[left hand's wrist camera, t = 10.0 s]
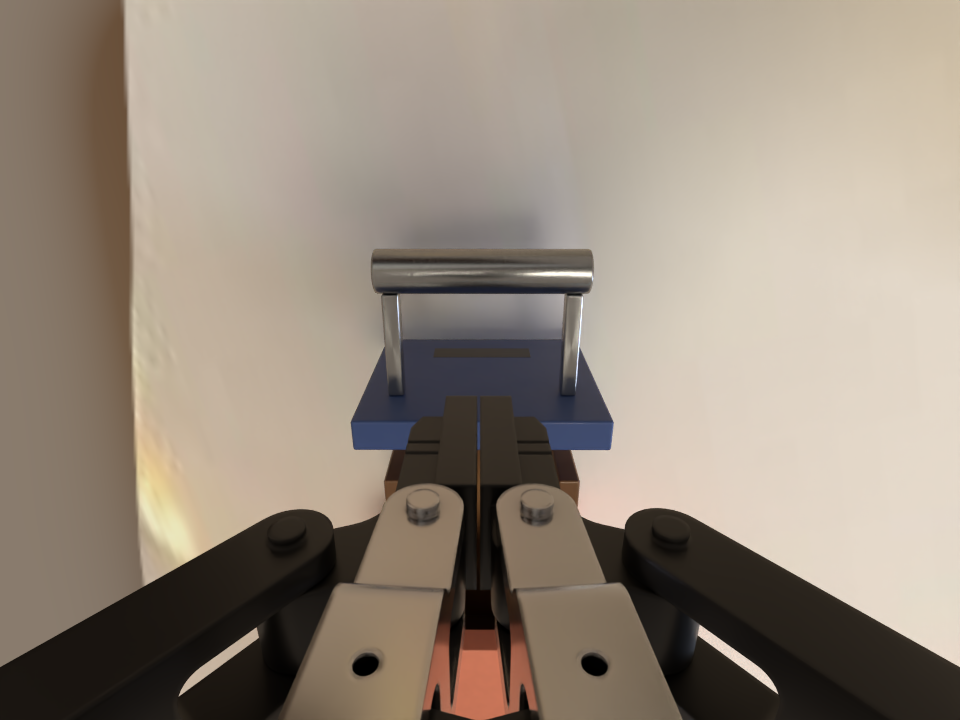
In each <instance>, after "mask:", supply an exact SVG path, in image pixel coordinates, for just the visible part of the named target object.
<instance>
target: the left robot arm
mask: <svg viewBox="0 0 960 720" xmlns="http://www.w3.org/2000/svg"><path fill="white" fill-rule="evenodd" d="M465 590H477V396H446V400H445V407H444V414H443V416H423V417H422V418H421V419H420V420H419V421H418V422H417V423H415V424H414V425H413V426H412V427H411V430H410V434H409V438H408V443H407V446H406V450H405V454H404V459H403V463H402V467H401V471H400V475H399V479H398V483H397V487H396V491H395V493H393V494H392V495H391V496H390V497H389V498H388V499H387V500H386V501H385V503H384V505H383V508H382V510H381V513H380V514H378V515H377V516H375V517H373V518H371V519H369V520H366V521H364V522H361V523H357V524H353V525H349V526H344V527H340V528H335V529H333V525H332V523H331V521H330V520H329V518H328V517H326V516H325V515H324V514H322V513H320V512H317V511H313V510H306V509H297V510H289V511H284V512H280V513H277V514H275V515H272V516H270V517H268V518H266V519H264V520H262V521H260V522H258V523H256V524H255V525H253V526H251V527H249V528H248V529H246V530H244V531H242V532H240V533H239V534H237V535H235V536H233V537H231V538H230V539H228V540H226V541H224V542H223V543H221V544H219V545H217V546H215V547H214V548H212V549H210V550H208V551H207V552H205V553H203V554H201V555H199V556H198V557H196V558H194V559H192V560H190V561H189V562H187V563H185V564H183V565H182V566H180V567H178V568H176V569H174V570H173V571H171V572H169V573H167V574H166V575H164V576H162V577H160V578H158V579H157V580H155V581H153V582H151V583H149V584H148V585H146V586H144V587H142V588H141V589H139V590H137V591H135V592H133V593H132V594H130V595H128V596H126V597H125V598H123V599H121V600H119V601H117V602H116V603H114V604H112V605H110V606H108V607H107V608H105V609H103V610H101V611H100V612H98V613H96V614H94V615H92V616H91V617H89V618H87V619H85V620H84V621H82V622H80V623H78V624H76V625H75V626H73V627H71V628H69V629H67V630H66V631H64V632H62V633H60V634H59V635H57V636H55V637H53V638H52V639H50V640H48V641H46V642H44V643H43V644H41V645H39V646H37V647H35V648H34V649H32V650H30V651H28V652H27V653H25V654H23V655H21V656H19V657H18V658H16V659H14V660H12V661H10V662H9V663H7V664H5V665H3V666H2V667H0V720H474V719H469V718H466V717H462V716H458V715H455V710H456V702H457V693H458V685H459V677H460V668H461V660H462V652H463V643H464V635H465ZM480 590H491V606H492V611H493V614H494V616H495V635H496V643H497V652H498V660H499V668H500V677H501V685H502V693H503V702H504V710H505V715H502V716H498V717H494V718H491V719H486V720H960V667H958V666H957V665H955V664H953V663H951V662H950V661H948V660H946V659H944V658H942V657H941V656H939V655H937V654H935V653H934V652H932V651H930V650H928V649H926V648H925V647H923V646H921V645H919V644H917V643H916V642H914V641H912V640H910V639H909V638H907V637H905V636H903V635H901V634H900V633H898V632H896V631H894V630H893V629H891V628H889V627H887V626H885V625H884V624H882V623H880V622H878V621H876V620H875V619H873V618H871V617H869V616H868V615H866V614H864V613H862V612H860V611H859V610H857V609H855V608H853V607H852V606H850V605H848V604H846V603H844V602H843V601H841V600H839V599H837V598H835V597H834V596H832V595H830V594H828V593H827V592H825V591H823V590H821V589H819V588H818V587H816V586H814V585H812V584H811V583H809V582H807V581H805V580H803V579H802V578H800V577H798V576H796V575H794V574H793V573H791V572H789V571H787V570H786V569H784V568H782V567H780V566H778V565H777V564H775V563H773V562H771V561H770V560H768V559H766V558H764V557H762V556H761V555H759V554H757V553H755V552H753V551H752V550H750V549H748V548H746V547H745V546H743V545H741V544H739V543H737V542H736V541H734V540H732V539H730V538H729V537H727V536H725V535H723V534H721V533H720V532H718V531H716V530H714V529H712V528H711V527H709V526H707V525H705V524H704V523H702V522H700V521H698V520H696V519H695V518H693V517H691V516H689V515H686V514H684V513H681V512H678V511H674V510H670V509H662V508H650V509H644V510H641V511H638V512H636V513H634V514H633V515H631V516H630V517H629V519H628V520H627V522H626V524H625V529H620V528H616V527H611V526H607V525H602V524H599V523H595V522H592V521H590V520H587V519H585V518H583V517H581V515H580V513H579V510H578V508H577V505H576V503H575V501H574V500H573V499H572V498H571V497H570V496H569V495H568V494H567V493H565V492H564V491H562V490H561V489H560V485H559V481H558V476H557V472H556V468H555V464H554V459H553V455H552V451H551V446H550V444H549V438H548V434H547V429H546V427H545V426H544V425H543V424H542V423H541V422H540V421H538V420H537V419H536V418H535V417H514V414H513V406H512V398H511V396H480ZM699 625H701V626H703V627H704V628H705V629H707V630H708V631H710V632H711V633H712V634H714V635H715V636H717V637H718V638H719V639H721V640H722V641H724V642H725V643H726V644H728V645H729V646H731V647H732V648H733V649H735V650H736V651H738V652H739V653H740V654H742V655H743V656H745V657H746V658H747V659H749V660H750V661H752V662H753V663H754V664H756V665H757V666H758V667H760V668H761V669H762V670H763V671H764V672H765V673H766V674H767V675H768V676H769V678H770V679H771V680H772V682H773V683H774V685H775V687H776V689H777V691H778V694H779V695H778V694H777V693H775V692H774V691H773V690H771V689H770V688H769V687H767V686H766V685H764V684H763V683H762V682H760V681H759V680H758V679H756V678H755V677H754V676H752V675H751V674H749V673H748V672H747V671H745V670H744V669H743V668H741V667H740V666H739V665H737V664H736V663H734V662H733V661H732V660H730V659H729V658H728V657H726V656H725V655H724V654H722V653H721V652H719V651H718V650H717V649H715V648H714V647H713V646H711V645H710V644H709V643H707V642H706V641H704V640H703V639H702V638H700V637H699V636H698V630H699ZM256 627H257V630H258V635H259V638H258V639H257V640H256V641H254V642H253V643H251V644H250V645H249V646H247V647H246V648H245V649H243V650H242V651H241V652H239V653H238V654H236V655H235V656H234V657H232V658H231V659H230V660H228V661H227V662H226V663H224V664H223V665H221V666H220V667H219V668H217V669H216V670H215V671H213V672H212V673H211V674H209V675H208V676H206V677H205V678H204V679H202V680H201V681H200V682H198V683H197V684H195V685H194V686H193V687H191V688H190V689H189V690H187V691H186V692H185V693H183V694H182V695H180V696H179V693H180V691H181V689H182V687H183V685H184V684H185V682H186V681H187V680H188V679H189V677H190V676H191V675H192V674H193V673H194V672H195V671H196V670H198V669H199V668H200V667H201V666H203V665H204V664H206V663H207V662H208V661H210V660H211V659H213V658H214V657H215V656H217V655H218V654H220V653H221V652H222V651H224V650H225V649H227V648H228V647H229V646H231V645H232V644H234V643H235V642H236V641H238V640H239V639H241V638H242V637H243V636H245V635H246V634H248V633H249V632H250V631H252V630H253V629H255V628H256ZM178 696H179V697H178Z"/></svg>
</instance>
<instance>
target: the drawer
mask: <svg viewBox="0 0 960 720" xmlns="http://www.w3.org/2000/svg"><path fill="white" fill-rule="evenodd" d="M593 276H594V261H593V255H592V252H591V250H589V249H375V250H374V251H373V254H372V259H371V279H372V285H373V289H374V291H375V293H377V294H382V296H381V300H382V313H383V327H384V340H385V347H384V349H383V351H382V354H381V356H380V358H379V360H378V363H377V365H376V367H375V369H374V371H373V374H372V376H371V378H370V380H369V383H368V385H367V387H366V389H365V392H364V394H363V396H362V398H361V400H360V403H359V405H358V407H357V409H356V412H355V414H354V416H353V418H352V420H351V429H352V439H353V447H354V449H355V450H393V451H392V455H391V458H390V462H389V466H388V469H387V473H386V476H385V480H384V486H385V498H386V500H387V499H388V498H389V497H390V496H391V495H392V494H393V493H395V491H396V487H397V483H398V479H399V475H400V471H401V467H402V463H403V459H404V454H405V450H406V446H407V443H408V438H409V434H410V430H411V427H412V426H413V425H414V424H415V423H417V422H418V421H419V420H420V419H421V418H422V417H423V416H443V414H444V407H445V400H446V396H477V590H465V630H495V616H494V614H493V611H492V606H491V590H480V396H511V398H512V406H513V414H514V417H535V418H536V419H537V420H538V421H540V422H541V423H542V424H543V425H544V426H545V427H546V429H547V434H548V438H549V444H550V446H551V451H552V455H553V459H554V464H555V468H556V472H557V476H558V481H559V485H560V489H561V490H562V491H564V492H565V493H567V494H568V495H569V496H570V497H571V498H572V499H573V500H574V501H575V503H576V505H577V508H578V497H579V485H580V481H579V477H578V474H577V470H576V466H575V463H574V459H573V456H572V452H571V450H610V449H611V442H612V433H613V424H614V422H613V420H612V418H611V415H610V413H609V411H608V409H607V407H606V404H605V402H604V400H603V398H602V396H601V393H600V391H599V389H598V387H597V385H596V382H595V380H594V378H593V376H592V374H591V371H590V369H589V367H588V365H587V363H586V360H585V358H584V356H583V354H582V352H581V349H580V347H579V345H580V333H581V320H582V307H583V295H582V294H588V293H590V291H591V288H592V284H593ZM400 294H565V296H564V311H563V327H562V340H403V336H402V319H401V303H400Z"/></svg>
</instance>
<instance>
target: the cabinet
mask: <svg viewBox="0 0 960 720" xmlns="http://www.w3.org/2000/svg"><path fill="white" fill-rule="evenodd" d="M455 715H458V716H462V717H466V718H469V719H474V720H486V719H491V718H494V717H498V716H502V715H505V710H504V702H503V693H502V685H501V677H500V668H499V660H498V652H497V643H496V635H495V630H465V635H464V643H463V652H462V660H461V668H460V677H459V685H458V693H457V702H456V710H455Z"/></svg>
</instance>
